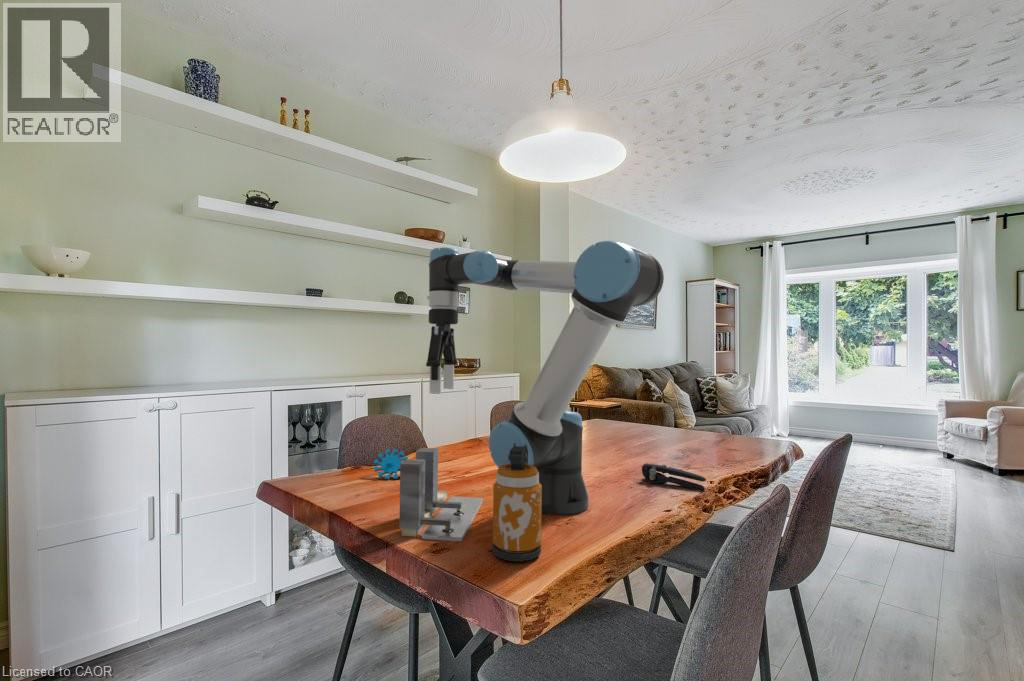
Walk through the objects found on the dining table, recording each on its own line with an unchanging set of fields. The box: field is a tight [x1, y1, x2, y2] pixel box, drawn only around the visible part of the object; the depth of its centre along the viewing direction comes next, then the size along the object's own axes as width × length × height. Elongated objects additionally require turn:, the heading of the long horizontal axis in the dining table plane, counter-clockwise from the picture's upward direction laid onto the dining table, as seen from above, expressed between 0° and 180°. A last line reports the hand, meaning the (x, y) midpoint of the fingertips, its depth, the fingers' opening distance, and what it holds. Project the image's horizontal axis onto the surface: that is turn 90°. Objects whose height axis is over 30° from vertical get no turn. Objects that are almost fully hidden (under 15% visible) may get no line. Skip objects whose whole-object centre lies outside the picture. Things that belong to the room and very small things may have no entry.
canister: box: [492, 443, 542, 562], centre depth 91 cm, size 9×11×20 cm
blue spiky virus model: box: [373, 448, 409, 480], centre depth 142 cm, size 11×6×10 cm
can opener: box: [641, 463, 707, 491], centre depth 136 cm, size 18×7×6 cm, turn 57°
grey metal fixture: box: [398, 458, 451, 538], centre depth 110 cm, size 26×10×14 cm, turn 174°
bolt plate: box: [421, 495, 484, 542], centre depth 108 cm, size 25×8×1 cm, turn 174°
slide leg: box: [415, 447, 462, 512], centre depth 109 cm, size 4×10×14 cm, turn 84°
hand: (442, 391), depth 125 cm, fingers open, 13 cm apart
